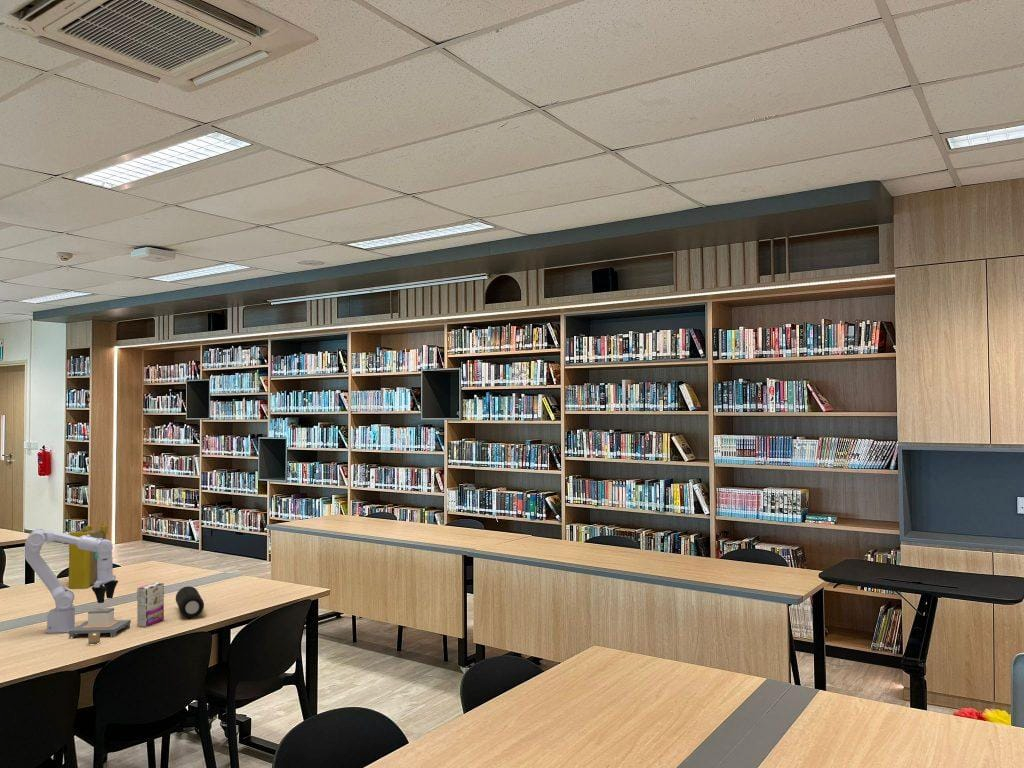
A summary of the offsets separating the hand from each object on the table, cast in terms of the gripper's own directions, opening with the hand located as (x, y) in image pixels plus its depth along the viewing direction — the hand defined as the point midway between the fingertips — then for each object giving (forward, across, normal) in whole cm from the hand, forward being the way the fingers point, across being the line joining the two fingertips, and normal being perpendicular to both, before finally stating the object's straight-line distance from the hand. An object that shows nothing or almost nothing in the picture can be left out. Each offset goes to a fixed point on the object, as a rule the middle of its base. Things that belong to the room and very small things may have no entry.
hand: (105, 600), depth 313 cm
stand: (+10, -11, -3) cm, 16 cm away
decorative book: (+10, +82, +49) cm, 96 cm away
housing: (+7, -11, -4) cm, 14 cm away
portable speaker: (+12, +17, -29) cm, 35 cm away
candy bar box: (+11, +1, -18) cm, 21 cm away
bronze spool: (+10, -26, -8) cm, 29 cm away
